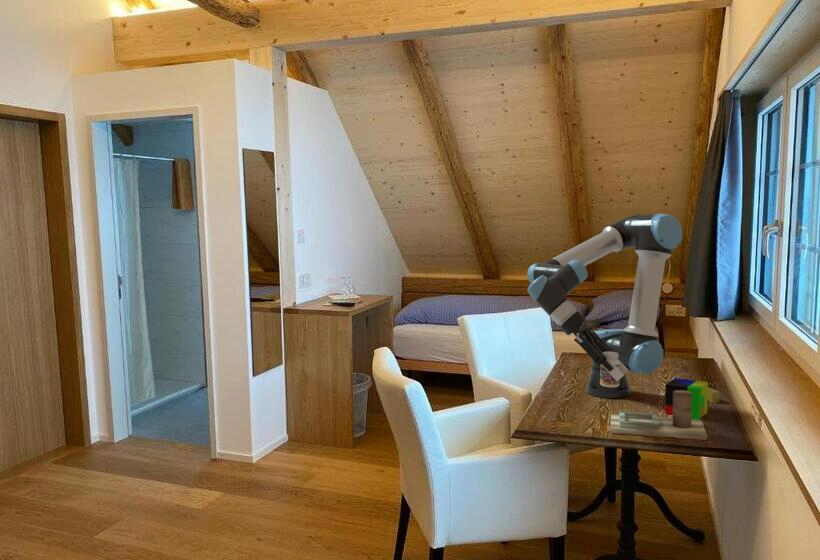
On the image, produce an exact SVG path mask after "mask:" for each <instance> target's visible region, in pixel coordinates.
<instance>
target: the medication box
mask: <svg viewBox="0 0 820 560" xmlns="http://www.w3.org/2000/svg"><path fill="white" fill-rule="evenodd" d="M720 395H721V393H720V391H718V390H716V389H713V388H711V387H708V395H707V402H710V403H713V404H716V403H720V402H721V398H720Z"/></svg>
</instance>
